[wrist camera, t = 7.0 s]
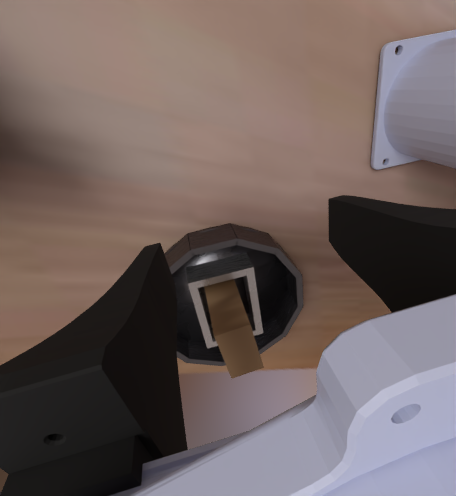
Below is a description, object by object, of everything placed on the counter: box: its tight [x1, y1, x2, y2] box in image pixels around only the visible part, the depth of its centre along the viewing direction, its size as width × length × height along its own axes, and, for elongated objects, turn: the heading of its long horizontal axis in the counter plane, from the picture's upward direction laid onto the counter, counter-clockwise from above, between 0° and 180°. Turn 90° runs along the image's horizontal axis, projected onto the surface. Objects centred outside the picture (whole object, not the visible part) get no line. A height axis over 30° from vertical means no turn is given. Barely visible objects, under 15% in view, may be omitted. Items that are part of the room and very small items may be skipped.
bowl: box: [164, 223, 303, 366], centre depth 24 cm, size 13×13×3 cm
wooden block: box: [204, 279, 264, 378], centre depth 22 cm, size 2×4×6 cm, turn 15°
